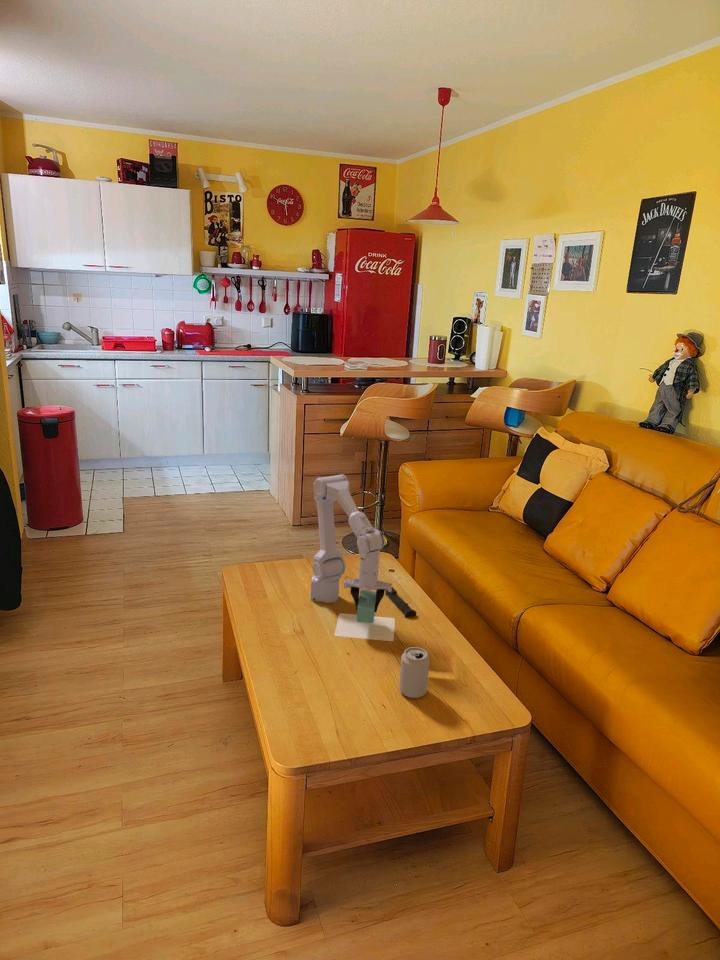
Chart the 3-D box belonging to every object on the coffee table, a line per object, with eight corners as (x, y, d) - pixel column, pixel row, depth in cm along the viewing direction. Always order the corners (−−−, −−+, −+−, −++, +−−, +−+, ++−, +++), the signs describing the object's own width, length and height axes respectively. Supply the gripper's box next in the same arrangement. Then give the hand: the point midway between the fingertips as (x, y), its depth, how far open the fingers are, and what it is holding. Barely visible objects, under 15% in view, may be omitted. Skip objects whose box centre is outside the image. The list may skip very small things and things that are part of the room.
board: (333, 640, 199) (334, 635, 199) (339, 617, 213) (339, 613, 212) (393, 645, 198) (393, 641, 198) (394, 622, 212) (395, 618, 211)
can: (418, 703, 172) (422, 663, 168) (393, 693, 176) (396, 654, 172) (431, 689, 178) (435, 651, 174) (406, 680, 182) (410, 641, 178)
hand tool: (416, 621, 214) (417, 608, 212) (405, 622, 212) (406, 609, 211) (393, 594, 230) (394, 582, 229) (382, 596, 229) (383, 584, 228)
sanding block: (356, 621, 198) (357, 606, 197) (359, 604, 209) (360, 590, 207) (373, 623, 198) (374, 608, 196) (375, 605, 208) (376, 591, 207)
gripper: (343, 573, 196) (341, 614, 200) (392, 577, 195) (389, 618, 199) (346, 563, 202) (344, 603, 207) (393, 567, 202) (390, 607, 206)
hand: (366, 609), depth 203 cm, fingers closed on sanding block, 5 cm apart
